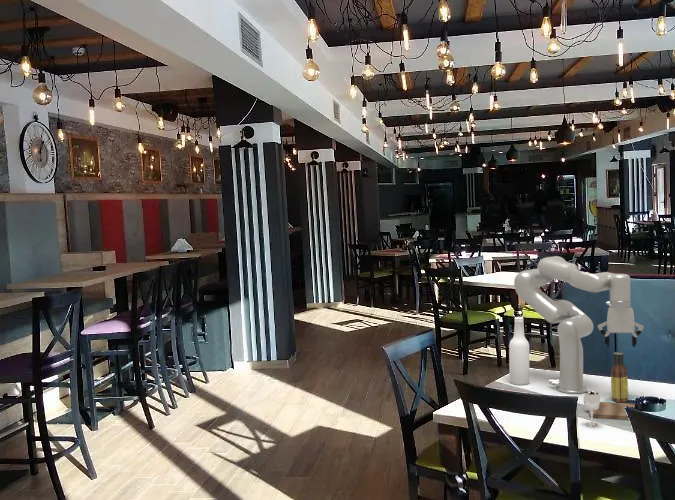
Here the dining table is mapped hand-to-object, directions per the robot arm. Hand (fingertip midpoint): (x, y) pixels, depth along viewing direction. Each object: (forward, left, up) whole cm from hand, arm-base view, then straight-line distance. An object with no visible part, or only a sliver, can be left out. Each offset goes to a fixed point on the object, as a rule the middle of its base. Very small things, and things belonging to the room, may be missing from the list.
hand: (620, 346), depth 270 cm
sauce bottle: (0, 0, -23) cm, 23 cm away
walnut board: (-3, -16, -23) cm, 28 cm away
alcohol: (-40, +19, -23) cm, 50 cm away
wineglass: (-13, -32, -23) cm, 41 cm away
